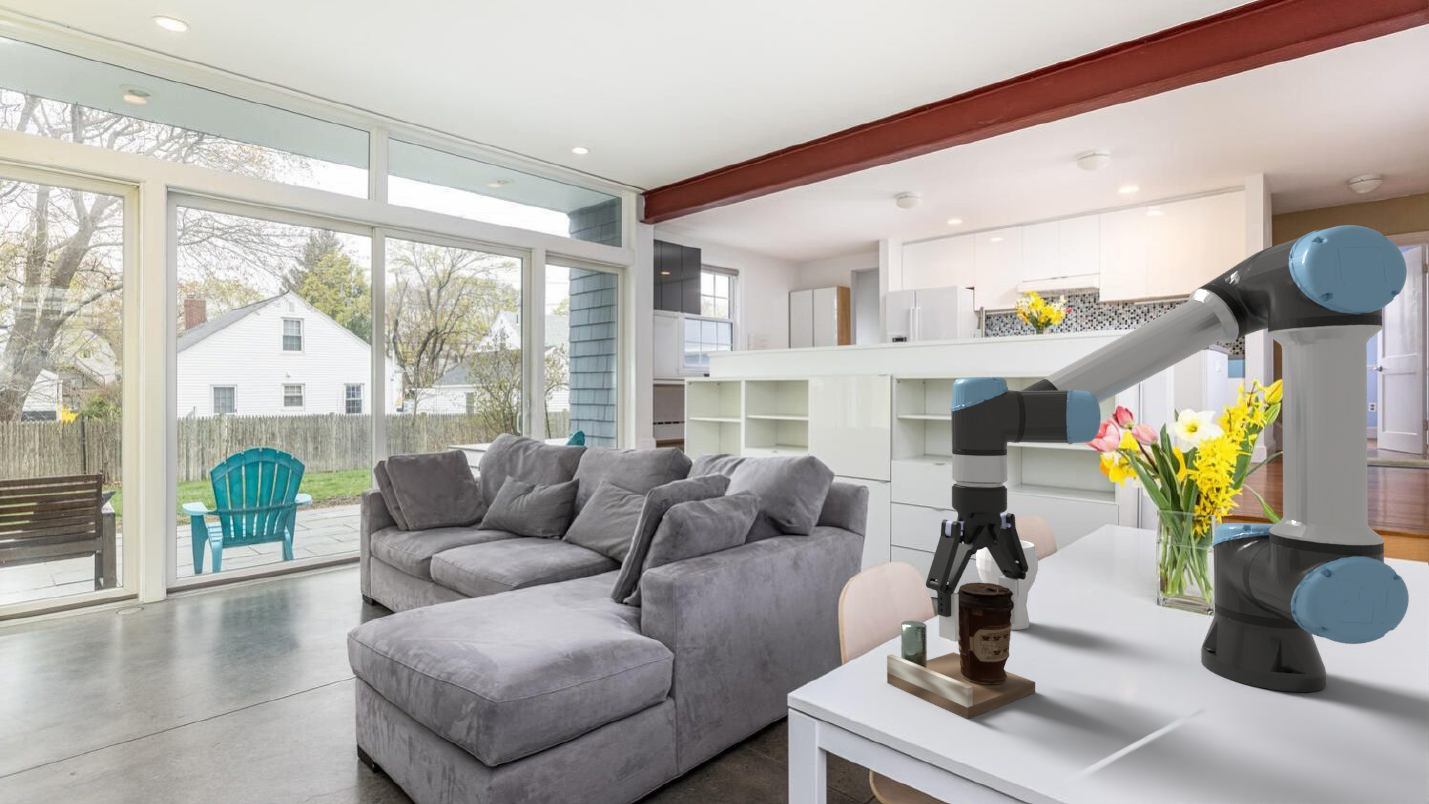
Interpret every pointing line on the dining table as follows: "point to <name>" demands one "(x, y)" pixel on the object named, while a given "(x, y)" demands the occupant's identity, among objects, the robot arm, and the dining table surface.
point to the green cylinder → (914, 642)
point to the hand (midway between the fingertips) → (979, 629)
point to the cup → (991, 574)
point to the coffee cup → (984, 631)
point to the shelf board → (954, 685)
